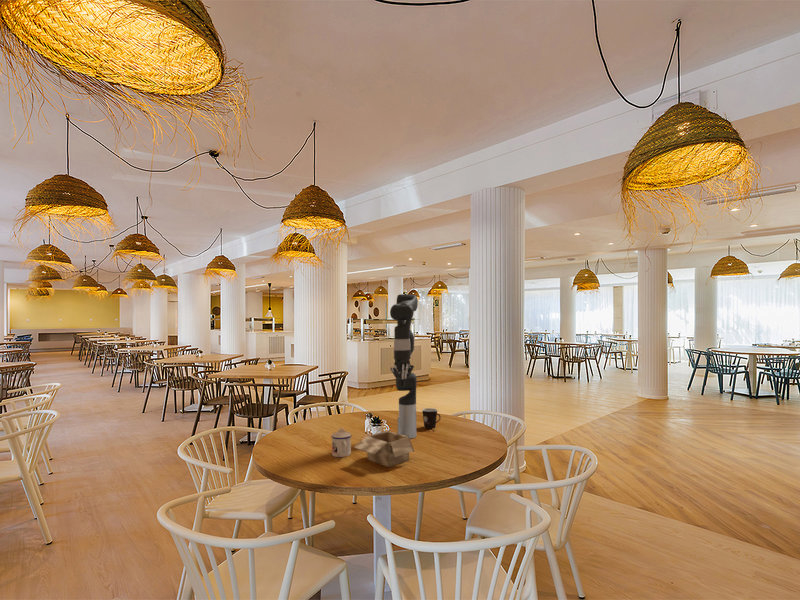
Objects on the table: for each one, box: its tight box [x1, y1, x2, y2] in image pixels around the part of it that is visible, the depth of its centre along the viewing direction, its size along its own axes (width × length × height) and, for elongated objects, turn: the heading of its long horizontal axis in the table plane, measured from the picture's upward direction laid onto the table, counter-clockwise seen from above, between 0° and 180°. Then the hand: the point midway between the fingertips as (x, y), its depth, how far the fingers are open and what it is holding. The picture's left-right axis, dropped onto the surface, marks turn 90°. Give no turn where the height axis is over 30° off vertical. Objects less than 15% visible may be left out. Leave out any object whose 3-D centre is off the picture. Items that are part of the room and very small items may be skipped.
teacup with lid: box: [331, 428, 352, 458], centre depth 192 cm, size 12×9×12 cm
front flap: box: [353, 435, 387, 455], centre depth 177 cm, size 13×1×8 cm
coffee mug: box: [421, 407, 441, 430], centre depth 238 cm, size 12×9×10 cm
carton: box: [366, 430, 415, 468], centre depth 186 cm, size 20×16×10 cm
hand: (402, 387), depth 189 cm, fingers closed
